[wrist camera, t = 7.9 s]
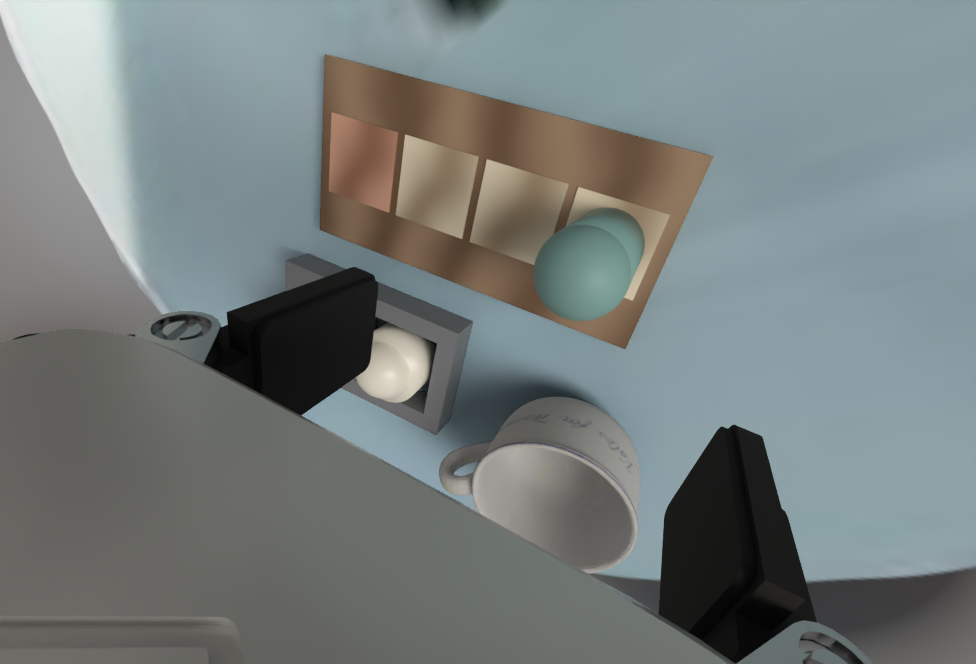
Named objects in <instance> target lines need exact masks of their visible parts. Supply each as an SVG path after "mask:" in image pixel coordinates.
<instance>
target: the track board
mask: <svg viewBox="0 0 976 664" xmlns="http://www.w3.org/2000/svg"><path fill="white" fill-rule="evenodd" d="M712 158H713V156H710V155H706V154H702V153H698V152H695V151H691V150H687V149H683V148H679V147H676V146H672V145H668V144H664V143H660V142H657V141H653V140H649V139H645V138H641V137H638V136H634V135H630V134H626V133H622V132H619V131H615V130H611V129H607V128H603V127H600V126H596V125H592V124H588V123H584V122H580V121H577V120H573V119H569V118H565V117H561V116H558V115H554V114H550V113H546V112H542V111H539V110H535V109H531V108H527V107H523V106H520V105H516V104H512V103H508V102H504V101H501V100H497V99H493V98H489V97H485V96H482V95H478V94H474V93H470V92H466V91H463V90H459V89H455V88H451V87H447V86H444V85H440V84H436V83H432V82H428V81H425V80H421V79H417V78H413V77H409V76H406V75H402V74H398V73H394V72H390V71H387V70H383V69H379V68H375V67H371V66H368V65H364V64H360V63H356V62H352V61H349V60H345V59H341V58H337V57H333V56H329V55H325V71H324V105H323V140H322V174H321V208H320V230H322V231H324V232H327V233H329V234H332V235H335V236H337V237H340V238H342V239H345V240H347V241H350V242H352V243H355V244H358V245H360V246H363V247H365V248H368V249H370V250H373V251H375V252H378V253H381V254H383V255H386V256H388V257H391V258H393V259H396V260H399V261H401V262H404V263H406V264H409V265H411V266H414V267H416V268H419V269H422V270H424V271H427V272H429V273H432V274H434V275H437V276H439V277H442V278H445V279H447V280H450V281H452V282H455V283H457V284H460V285H462V286H465V287H468V288H470V289H473V290H475V291H478V292H480V293H483V294H485V295H488V296H491V297H493V298H496V299H498V300H501V301H503V302H506V303H508V304H511V305H514V306H516V307H519V308H521V309H524V310H526V311H529V312H531V313H534V314H537V315H539V316H542V317H544V318H547V319H549V320H552V321H554V322H557V323H560V324H562V325H565V326H567V327H570V328H572V329H575V330H577V331H580V332H583V333H585V334H588V335H590V336H593V337H595V338H598V339H601V340H603V341H606V342H608V343H611V344H613V345H616V346H618V347H621V348H624V349H626V347H627V344H628V342H629V340H630V338H631V336H632V334H633V331H634V329H635V327H636V325H637V323H638V320H639V318H640V316H641V314H642V312H643V309H644V307H645V305H646V303H647V301H648V298H649V296H650V294H651V292H652V290H653V288H654V285H655V283H656V281H657V279H658V277H659V274H660V272H661V270H662V268H663V266H664V263H665V261H666V259H667V257H668V255H669V253H670V250H671V248H672V246H673V244H674V242H675V239H676V237H677V235H678V233H679V231H680V228H681V226H682V224H683V222H684V220H685V218H686V215H687V213H688V211H689V209H690V207H691V204H692V202H693V200H694V198H695V196H696V193H697V191H698V189H699V187H700V185H701V182H702V180H703V178H704V176H705V174H706V172H707V169H708V167H709V165H710V163H711V161H712ZM600 208H616V209H620V210H623V211H625V212H627V213H628V214H630V215H631V216H633V217H634V218H635V219H636V220H637V222H638V223H639V225H640V226H641V228H642V230H643V234H644V238H645V248H644V253H643V256H642V259H641V261H640V263H639V265H638V268H637V270H636V272H635V275H634V277H633V279H632V281H631V284H630V286H629V288H628V291H627V293H626V295H625V296H624V298H623V299H622V301H621V302H620V303H619V304H618V306H616V307H615V308H614V309H613V310H612V311H610V312H609V313H607V314H606V315H604V316H602V317H600V318H597V319H593V320H588V321H574V320H569V319H565V318H563V317H560V316H558V315H556V314H555V313H553V312H552V311H551V310H550V309H548V308H547V307H546V306H545V304H544V303H543V302H542V301H541V299H540V297H539V296H538V294H537V291H536V288H535V284H534V277H533V271H534V263H535V260H536V257H537V255H538V253H539V251H540V249H541V247H542V246H543V244H544V243H545V242H546V241H547V240H548V239H549V238H550V237H551V236H552V235H554V234H555V233H556V232H558V231H560V230H561V229H563V228H565V227H566V226H568V225H570V224H571V223H573V222H575V221H576V220H578V219H580V218H581V217H583V216H585V215H586V214H588V213H590V212H592V211H594V210H597V209H600Z"/></svg>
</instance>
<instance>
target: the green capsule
mask: <svg viewBox="0 0 976 664" xmlns="http://www.w3.org/2000/svg"><path fill="white" fill-rule="evenodd" d="M644 248H645V238H644V234H643V230H642V228H641V226H640V225H639V223H638V222H637V220H636V219H635V218H634V217H633V216H631V215H630V214H628V213H627V212H625V211H623V210H620V209H616V208H600V209H597V210H594V211H592V212H590V213H588V214H586V215H585V216H583V217H581V218H580V219H578V220H576V221H575V222H573V223H571V224H570V225H568V226H566V227H565V228H563V229H561V230H560V231H558V232H556V233H555V234H554V235H552V236H551V237H550V238H549V239H548V240H547V241H546V242H545V243H544V244H543V246H542V247H541V249H540V251H539V253H538V255H537V257H536V260H535V263H534V271H533V277H534V284H535V288H536V291H537V294H538V296H539V297H540V299H541V301H542V302H543V303H544V304H545V306H546V307H547V308H548V309H550V310H551V311H552V312H553V313H555V314H556V315H558V316H560V317H563V318H565V319H569V320H574V321H588V320H593V319H597V318H600V317H602V316H604V315H606V314H607V313H609V312H610V311H612V310H613V309H614V308H615V307H616V306H618V304H619V303H620V302H621V301H622V299H623V298H624V296H625V295H626V293H627V291H628V288H629V286H630V284H631V281H632V279H633V277H634V275H635V272H636V270H637V268H638V265H639V263H640V261H641V259H642V256H643V253H644Z"/></svg>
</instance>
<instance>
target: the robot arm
mask: <svg viewBox="0 0 976 664" xmlns="http://www.w3.org/2000/svg"><path fill="white" fill-rule="evenodd" d="M377 297H378V283H377V281H375V277H374V275H373V274H371V273H368V272H366V271H363V270H361V269H359V268H356V267H352V268H349V269H346V270H343V271H341V272H338V273H335V274H332V275H330V276H327V277H324V278H321V279H318V280H316V281H313V282H310V283H307V284H304V285H302V286H299V287H296V288H293V289H291V290H288V291H285V292H282V293H279V294H277V295H274V296H271V297H268V298H265V299H263V300H260V301H257V302H254V303H251V304H249V305H246V306H243V307H240V308H238V309H235V310H232V311H229V312H227V320H228V325H226V326H224V327H221V325H220V322H219V321H218V319H217V318H215V317H213V316H212V315H209V314H206V313H202V312H194V311H179V312H171V313H166V314H162V315H159V316H156V317H154V318H152V319H150V320H148V321H147V322H146V323H145V324H144V325H143V326H142V327H141V328H140V330H139V331H138V332H137V333H136V335H125V334H119V333H113V332H107V331H99V330H87V329H63V330H56V331H51V332H46V333H38V334H28V335H24V336H20V337H17V338H15V339H13V340H10V341H6V342H3V343H0V664H872V663H871V662H870V660H869V659H868V658H867V657H866V656H865V655H864V654H863V653H862V652H861V651H860V650H859V649H857V648H856V647H855V646H854V645H853V644H852V643H851V642H850V641H848V640H847V639H845V638H844V637H842V636H841V635H840V634H838V633H837V632H835V631H834V630H832V629H830V628H828V627H826V626H823V625H821V624H819V623H817V621H816V618H815V614H814V610H813V607H812V603H811V599H810V596H809V592H808V589H807V585H806V581H805V578H804V574H803V570H802V567H801V563H800V560H799V556H798V552H797V549H796V545H795V542H794V538H793V534H792V531H791V527H790V523H789V520H788V517H787V515H786V513H785V511H784V510H782V509H781V505H780V501H779V497H778V494H777V490H776V486H775V482H774V479H773V475H772V471H771V467H770V463H769V460H768V456H767V452H766V448H765V445H764V441H763V438H762V436H760V435H758V434H755V433H753V432H750V431H748V430H746V429H743V428H741V427H738V426H736V425H732V426H731V427H729V429H727V428H724V427H720V428H719V429H718V430H717V432H716V433H715V435H714V436H713V438H712V439H711V441H710V442H709V444H708V445H707V447H706V448H705V450H704V451H703V453H702V455H701V456H700V458H699V459H698V461H697V462H696V464H695V465H694V467H693V468H692V470H691V471H690V473H689V474H688V476H687V477H686V479H685V480H684V482H683V484H682V485H681V487H680V488H679V490H678V491H677V493H676V494H675V496H674V497H673V499H672V500H671V502H670V503H669V505H668V507H667V510H666V513H665V517H664V531H663V549H662V566H661V585H660V601H659V614H657V613H655V612H654V611H652V610H650V609H648V608H647V607H645V606H644V605H642V604H640V603H639V602H637V601H635V600H634V599H632V598H630V597H629V596H627V595H625V594H623V593H621V592H620V591H618V590H616V589H614V588H612V587H610V586H608V585H607V584H605V583H603V582H601V581H600V580H598V579H596V578H594V577H593V576H591V575H589V574H587V573H586V572H584V571H582V570H580V569H579V568H577V567H575V566H573V565H572V564H570V563H568V562H566V561H564V560H563V559H561V558H559V557H557V556H555V555H554V554H552V553H550V552H548V551H546V550H545V549H543V548H541V547H539V546H537V545H536V544H534V543H532V542H530V541H528V540H527V539H525V538H523V537H521V536H519V535H518V534H516V533H514V532H512V531H510V530H509V529H507V528H505V527H503V526H501V525H500V524H498V523H496V522H494V521H492V520H491V519H489V518H487V517H485V516H483V515H482V514H480V513H478V512H476V511H474V510H473V509H471V508H469V507H467V506H465V505H464V504H462V503H460V502H458V501H456V500H455V499H453V498H451V497H449V496H447V495H445V494H444V493H442V492H440V491H438V490H436V489H435V488H433V487H431V486H429V485H427V484H425V483H424V482H422V481H420V480H418V479H416V478H415V477H413V476H411V475H409V474H407V473H405V472H404V471H402V470H400V469H398V468H396V467H395V466H393V465H391V464H389V463H387V462H385V461H384V460H382V459H380V458H378V457H376V456H374V455H373V454H371V453H369V452H367V451H365V450H363V449H362V448H360V447H358V446H356V445H354V444H353V443H351V442H349V441H347V440H345V439H343V438H342V437H340V436H338V435H336V434H334V433H332V432H330V431H329V430H327V429H325V428H323V427H321V426H319V425H317V424H316V423H314V422H312V421H310V420H308V419H306V418H305V417H303V416H301V415H302V414H304V413H305V412H307V411H308V410H309V409H311V408H312V407H314V406H315V405H317V404H318V403H320V402H321V401H322V400H324V399H325V398H327V397H328V396H330V395H331V394H332V393H334V392H335V391H337V390H338V389H340V388H341V387H343V386H344V385H345V384H347V383H348V382H350V381H351V380H353V379H354V378H355V377H357V376H358V375H360V374H361V373H363V372H364V371H365V370H366V369H367V367H368V366H369V364H370V360H371V352H372V343H373V333H374V324H375V315H376V306H377Z"/></svg>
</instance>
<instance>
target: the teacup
mask: <svg viewBox="0 0 976 664" xmlns="http://www.w3.org/2000/svg"><path fill="white" fill-rule="evenodd" d="M477 461H479V462H478V464H477V466H476V468H475V471H474V472H473V473H471V474H468V475H465V476H457V475H454V472H455V471H456V470H457V469H459V468H460V467H462V466H464V465H466V464H469V463H473V462H477ZM439 477H440V481H441V484H442V486H443V487H444V489H445V490H446V491H448V492H449V493H451V494H454V495H462V496H464V495H469V494H472V496H473V500H474V504H475V507H476V509H477V511H478V513H480V514H482V515H483V516H485V517H487V518H489V519H491V520H492V521H494V522H496V523H498V524H500V525H501V526H503V527H505V528H507V529H509V530H510V531H512V532H514V533H516V534H518V535H519V536H521V537H523V538H525V539H527V540H528V541H530V542H532V543H534V544H536V545H537V546H539V547H541V548H543V549H545V550H546V551H548V552H550V553H552V554H554V555H555V556H557V557H559V558H561V559H563V560H564V561H566V562H568V563H570V564H572V565H573V566H575V567H577V568H579V569H580V570H582V571H584V572H586V573H595V572H601V571H604V570H607V569H610V568H612V567H614V566H616V565H618V564H619V563H620V562H622V561H623V560H624V559H625V558H626V557H627V556H628V555H629V554H630V552H631V551H632V549H633V548H634V545H635V543H636V540H637V536H638V517H637V514H638V503H639V485H640V472H639V462H638V458H637V454H636V451H635V448H634V446H633V444H632V441H631V439H630V438H629V436H628V435H627V433H626V432H625V430H624V429H623V428H622V427H621V425H620V424H619V423H618V422H617V421H616V420H615V419H613V418H612V417H611V416H610V415H609V414H607V413H606V412H604V411H603V410H601V409H600V408H598V407H596V406H594V405H592V404H590V403H587V402H584V401H581V400H578V399H574V398H568V397H545V398H540V399H536V400H533V401H531V402H528V403H526V404H525V405H523V406H521V407H520V408H518V409H517V410H516V411H515V412H514V413H512V414H511V415H510V416H509V417H508V419H507V420H506V421H505V423H504V424H503V425H502V427H501V428H500V430H499V431H498V433H497V435H496V436H495V438H494V440H493V441H491V442H486V443H480V444H474V445H469V446H465V447H462V448H459V449H457V450H455V451H453V452H451V453H450V454H448V455H447V456H446V457H445V458H444V460H443V461H442V463H441V465H440V469H439Z"/></svg>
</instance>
